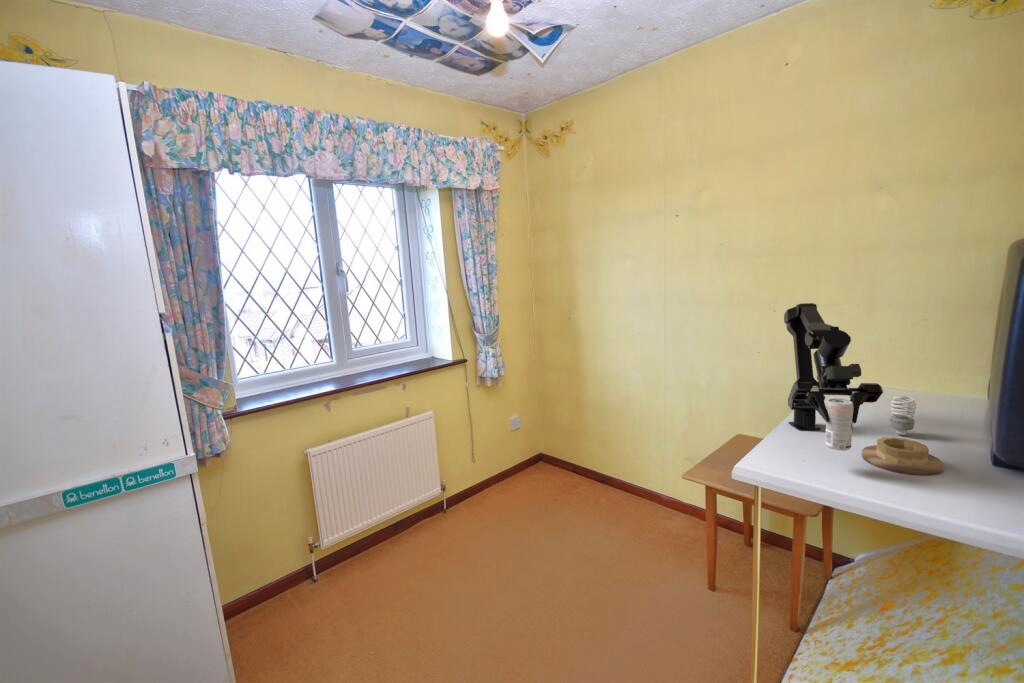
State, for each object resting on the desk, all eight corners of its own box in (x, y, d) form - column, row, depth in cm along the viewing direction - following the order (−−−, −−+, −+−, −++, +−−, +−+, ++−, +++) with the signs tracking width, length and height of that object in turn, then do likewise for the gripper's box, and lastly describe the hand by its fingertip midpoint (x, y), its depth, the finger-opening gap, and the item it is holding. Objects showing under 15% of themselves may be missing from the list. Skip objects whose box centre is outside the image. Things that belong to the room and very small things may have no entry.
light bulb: (887, 436, 131) (890, 397, 129) (889, 430, 135) (892, 392, 133) (913, 440, 127) (916, 400, 125) (914, 434, 131) (917, 395, 129)
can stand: (847, 450, 124) (848, 434, 123) (908, 448, 122) (909, 431, 122) (892, 476, 108) (893, 458, 107) (962, 474, 107) (964, 456, 106)
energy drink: (848, 443, 113) (851, 399, 111) (853, 452, 109) (856, 405, 107) (823, 441, 116) (825, 397, 114) (826, 449, 111) (829, 403, 109)
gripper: (794, 352, 115) (804, 406, 107) (882, 351, 109) (900, 409, 100) (786, 373, 124) (795, 425, 116) (867, 374, 117) (882, 429, 109)
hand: (841, 422), depth 110 cm, fingers closed on energy drink, 5 cm apart
